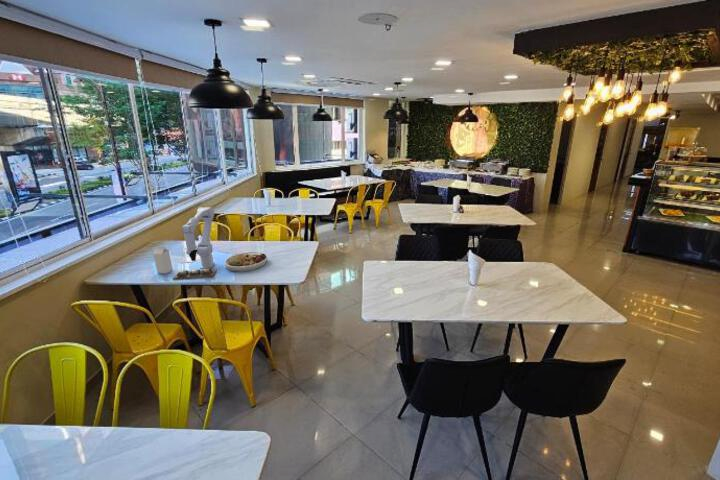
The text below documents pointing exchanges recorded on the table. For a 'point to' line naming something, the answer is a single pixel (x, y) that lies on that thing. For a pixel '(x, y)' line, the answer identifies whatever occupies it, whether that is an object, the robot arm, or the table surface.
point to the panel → (195, 274)
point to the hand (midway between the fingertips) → (193, 260)
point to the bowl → (245, 261)
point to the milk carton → (162, 260)
